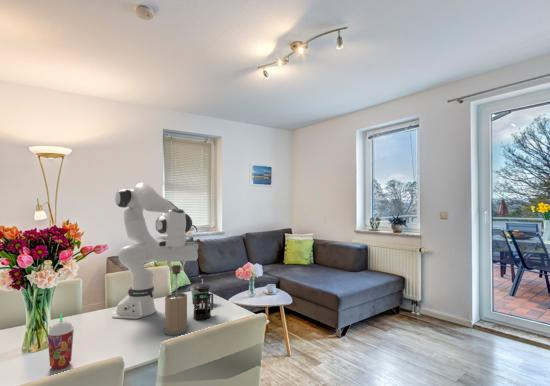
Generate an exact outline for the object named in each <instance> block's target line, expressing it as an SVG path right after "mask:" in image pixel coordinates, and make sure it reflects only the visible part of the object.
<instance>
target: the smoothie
mask: <svg viewBox="0 0 550 386" xmlns="http://www.w3.org/2000/svg"><path fill="white" fill-rule="evenodd" d="M59 315H60V316H59V317H60V318H59V320H58V321H56V322H54V323H53V324H52V326H50V328H49V330H48V332H47V342H48V343H47V344H48V356H49V358H48V359H49V366H50V367H51V369H52V370H61V368H62V369H64V368H67V367H69V365H70V362H71V361H72V355H73V343H74V342H73V341H74V340H73V339H74V329H75V328H74V326H73V325H72V323H71V322H70V321H69V320H65V319H63V313H60V314H59Z"/></svg>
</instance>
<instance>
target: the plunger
mask: <svg viewBox="0 0 550 386" xmlns="http://www.w3.org/2000/svg"><path fill="white" fill-rule="evenodd" d="M172 266H173V270H172V274H173V275H175V278H174V279H175V280H174V281H175V282H174V283H175V286H174V287H175V288H174V289H175V290H174V293H175V295H173V296H170V297H169V299H179V298H182V297H184V296H183V295H177V293H178V274H181V270H180V266H181V265H180V264H173V265H172Z"/></svg>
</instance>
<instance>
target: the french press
mask: <svg viewBox="0 0 550 386" xmlns="http://www.w3.org/2000/svg"><path fill="white" fill-rule="evenodd" d="M204 277H207V274H200V275H198V278H201V283H200V284H196V285H194V286H193V287H194V288H195V290H198V291H199V292H201V293H199V294H195V295H194V304H193V318H192V319H193V320H194V321H196V322H203V321H204V322H205V321H207V320H210V319H211V318H212V315H211V314H212V313H211V312H212V311H213V310H214V293H212V292H210V291H211V285H210V284H208V283H207V284H206V283H205V284H204V282H203V281H204ZM208 291H209V293H203V292H208ZM201 295H202V298H200V296H201ZM203 295H206V296H208V297H206V298H203ZM196 297H197V298H196ZM196 300H197V304H196ZM203 300H205V303H203ZM200 301H202V303H200Z"/></svg>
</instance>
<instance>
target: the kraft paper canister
mask: <svg viewBox="0 0 550 386" xmlns="http://www.w3.org/2000/svg"><path fill="white" fill-rule="evenodd" d="M173 295H175V292H173V293H170V294H167V295H166V296H165V297H164V329H163V333H164V334H165V336H169V337H177V336H181V335H185V333H188V330H189V327H188V326H189V325H188V294H187V293H184V292H177V295H183V296H184V297H182V298H179V299H169V297H170V296H173Z"/></svg>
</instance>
